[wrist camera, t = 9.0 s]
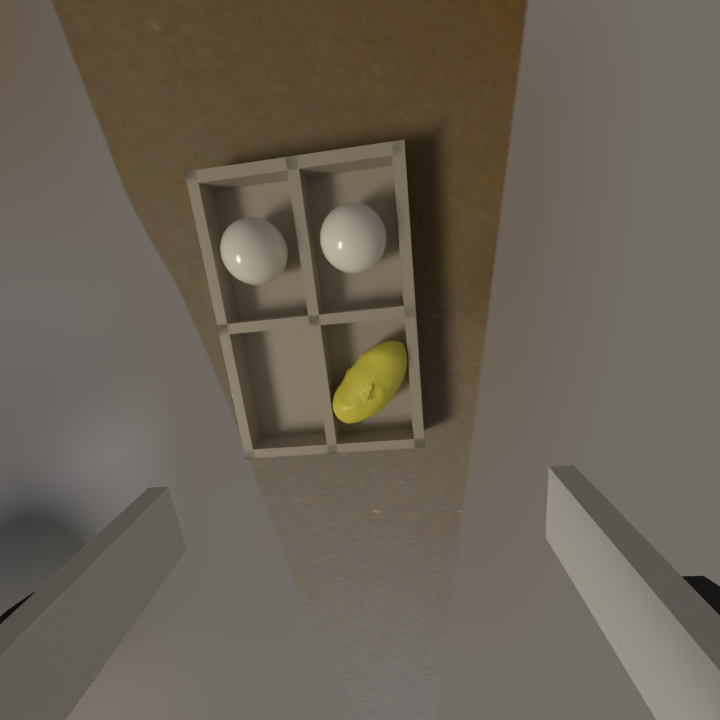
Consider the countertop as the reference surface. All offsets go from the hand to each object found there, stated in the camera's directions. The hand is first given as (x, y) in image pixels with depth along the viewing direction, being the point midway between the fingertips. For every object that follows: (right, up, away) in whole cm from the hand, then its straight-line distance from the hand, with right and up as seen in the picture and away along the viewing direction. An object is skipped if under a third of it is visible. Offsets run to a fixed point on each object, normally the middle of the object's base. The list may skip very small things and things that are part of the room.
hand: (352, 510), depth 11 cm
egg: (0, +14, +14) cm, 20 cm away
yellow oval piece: (+1, +4, +16) cm, 17 cm away
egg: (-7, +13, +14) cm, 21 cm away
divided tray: (-3, +9, +16) cm, 18 cm away
